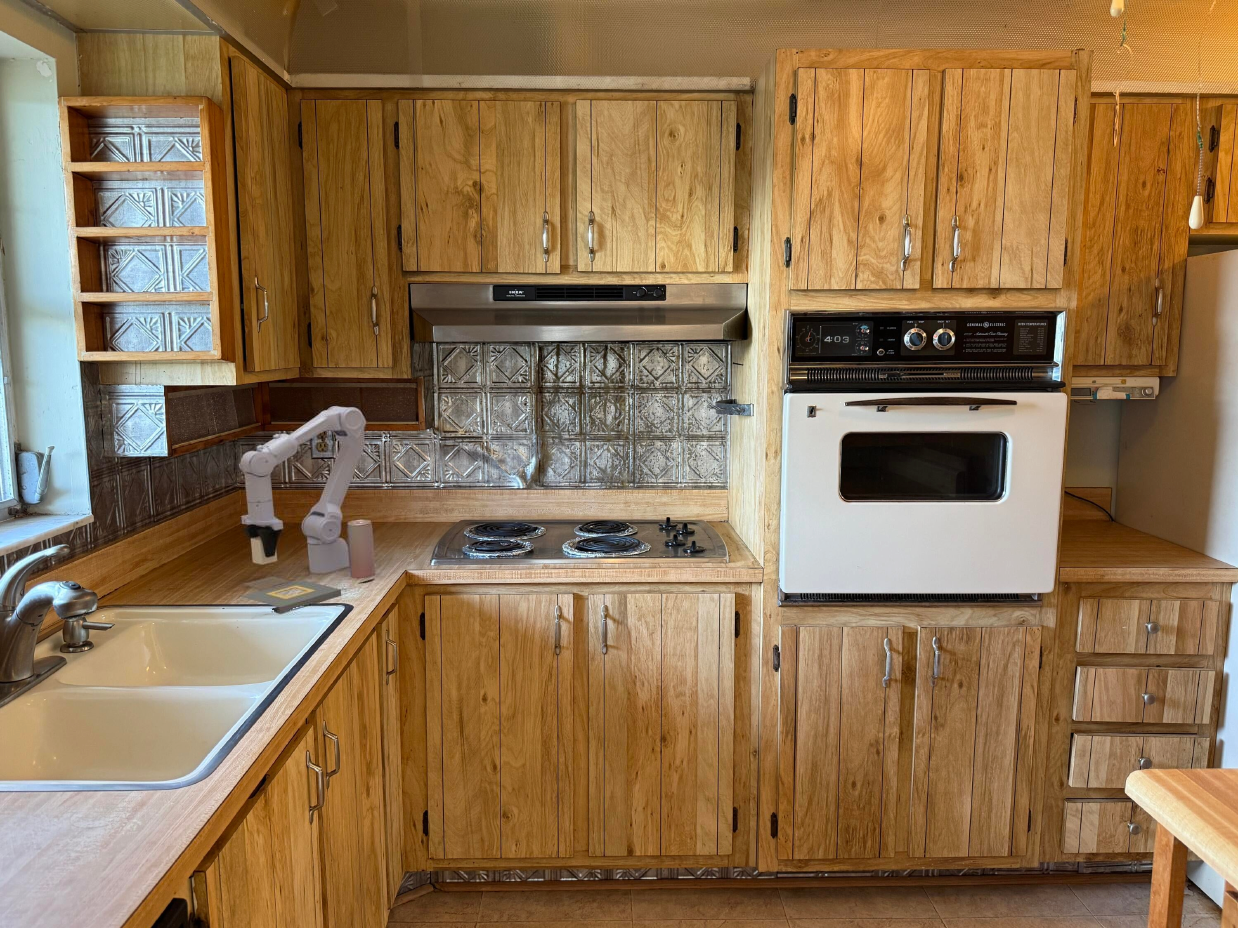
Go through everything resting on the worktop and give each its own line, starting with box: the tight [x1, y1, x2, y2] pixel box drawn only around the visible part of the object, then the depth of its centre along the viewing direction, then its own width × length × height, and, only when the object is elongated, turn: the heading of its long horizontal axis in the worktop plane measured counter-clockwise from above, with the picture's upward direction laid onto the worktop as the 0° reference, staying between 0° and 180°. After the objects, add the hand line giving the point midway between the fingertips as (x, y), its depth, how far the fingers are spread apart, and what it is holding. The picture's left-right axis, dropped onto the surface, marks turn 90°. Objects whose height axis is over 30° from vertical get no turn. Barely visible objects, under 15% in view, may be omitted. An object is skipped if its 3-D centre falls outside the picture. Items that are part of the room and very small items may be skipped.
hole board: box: [240, 579, 342, 615], centre depth 204 cm, size 16×16×2 cm
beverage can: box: [346, 519, 376, 585], centre depth 217 cm, size 6×6×15 cm
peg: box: [250, 536, 278, 566], centre depth 212 cm, size 4×4×6 cm
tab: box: [243, 576, 291, 590], centre depth 213 cm, size 8×8×2 cm
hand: (264, 555), depth 212 cm, fingers closed on peg, 4 cm apart
